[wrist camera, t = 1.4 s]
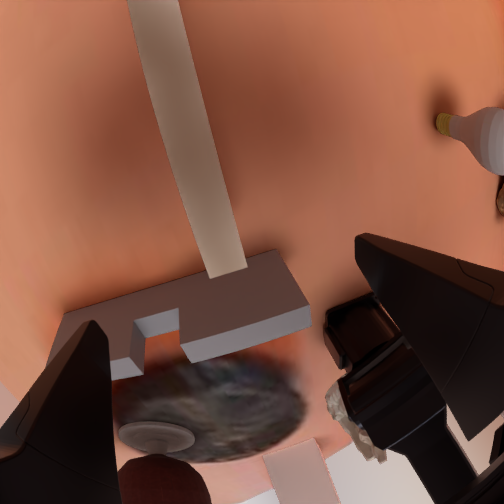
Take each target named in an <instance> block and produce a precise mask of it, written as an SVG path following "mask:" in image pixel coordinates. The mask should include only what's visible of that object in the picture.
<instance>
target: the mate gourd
mask: <svg viewBox="0 0 504 504" xmlns="http://www.w3.org/2000/svg"><path fill="white" fill-rule="evenodd" d="M119 438H120V440H121V441H122V442H123V443H125V444H126V445H128V446H131V447H133V448H136V449H139V450H143V451H148V453H149V455H148V456H144V457H139V458H134V459H130V460H128V461H127V462H126V463H125V464H124V465H123V467H122V468H121V469H120V470H119V471H118V480H119V486H120V492H121V497H122V503H123V504H212V503H211V498H210V494H209V492H208V489H207V487H206V484H205V482H204V480H203V478H202V476H201V475H200V474H199V473H198V472H197V471H196V470H195V469H194V468H193V467H192V466H191V465H190V464H188V463H186V462H184V461H180V460H177V459H174V458H170V457H167V456H166V454H167V452H175V451H180V450H183V449H186V448H188V447H190V446H191V445H193V443H194V442H195V438H194V435H193V433H192V432H191V431H190V430H188V429H186V428H184V427H181V426H179V425H175V424H170V423H164V422H151V421H145V422H133V423H129V424H126V425H124V426H122V427H121V428H120V429H119Z"/></svg>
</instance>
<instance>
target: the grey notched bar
mask: <svg viewBox="0 0 504 504" xmlns="http://www.w3.org/2000/svg"><path fill="white" fill-rule="evenodd" d="M245 259H246V263H247V266H248V267H247V268H243V269H240V270H237V271H234V272H231V273H227V274H224V275H221V276H218V277H214V278H211V279H210V278H209V275H208V272H207V270H206V271H203V272H200V273H197V274H193V275H190V276H187V277H184V278H180V279H177V280H174V281H170V282H167V283H164V284H161V285H157V286H154V287H151V288H147V289H144V290H141V291H138V292H134V293H131V294H128V295H124V296H121V297H118V298H115V299H111V300H108V301H105V302H101V303H98V304H95V305H91V306H88V307H85V308H81V309H78V310H75V311H71V312H68V313H65V314H64V315H63V318H62V321H61V323H60V326H59V328H58V331H57V334H56V337H55V340H54V342H53V345H52V348H51V351H50V354H49V357H48V361H47V364H46V367H47V366H48V364H49V363H50V362H51V360H52V359H53V358H54V357H55V355H56V354H57V353H58V352H59V350H60V349H61V348H62V347H63V346H64V344H65V343H66V342H67V341H68V339H69V338H70V337H71V336H72V335H73V334H74V332H75V331H76V330H77V329H78V328H79V326H80V325H81V324H82V323H83V322H84V321H88V320H91V319H93V320H95V321H96V322H97V323H98V324H99V326H100V327H101V328H102V330H103V331H104V332H105V334H106V335H107V337H108V340H109V352H110V366H111V378H112V380H116V379H122V378H127V377H133V376H138V375H143V374H144V353H145V338H148V337H152V336H156V335H160V334H164V333H167V332H171V331H175V330H179V334H180V345H181V347H182V349H183V350H184V352H185V353H186V355H187V357H188V358H189V360H190V361H191V363H195V362H199V361H202V360H206V359H210V358H214V357H217V356H221V355H224V354H228V353H231V352H235V351H238V350H242V349H245V348H248V347H251V346H255V345H258V344H261V343H264V342H267V341H270V340H273V339H276V338H279V337H282V336H285V335H288V334H291V333H294V332H297V331H300V330H302V329H305V328H308V327H311V326H312V322H311V312H310V304H309V303H308V301H307V299H306V298H305V296H304V294H303V292H302V291H301V289H300V287H299V286H298V284H297V282H296V281H295V279H294V277H293V276H292V274H291V272H290V271H289V269H288V267H287V266H286V264H285V262H284V261H283V259H282V257H281V256H280V254H279V253H278V251H277V249H274V250H271V251H268V252H265V253H262V254H258V255H255V256H252V257H249V258H245ZM46 367H45V368H46Z"/></svg>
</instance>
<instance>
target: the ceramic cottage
mask: <svg viewBox="0 0 504 504" xmlns="http://www.w3.org/2000/svg"><path fill="white" fill-rule="evenodd" d="M344 376H345V375H343V376H342V377H344ZM338 387H339V385H338V382H337V381H336V382H335V383H334V384H333V385H332V387H331V388H330V389H329V391H328V392H327V394H326V397H325V398H326V402H327V407H328V411H329V413H330V414H331V415H332V417H333V420H336V421H339V423H340V424H341V426H342V427H343V429H344V430H345V432H347V433H348V434H349V435H350V436H351V438H352V439H353V441H354V443H355V445H356V447H357V449H358V450H359V451H360V452H361V453H362V454H363V456H364V457H365V459H366V460H367V461H371V460H373V459H374V458H377V459H378V462H379V463H380V464H382V463H383V462H385V461H387V456H386V450H385V451H383V450H381V449H379V448H377V447H375V446H374V445H373V443H372V441H371V439H370V437H369V436H368V434H367V432H366V430H361V429H360V428H359V427H358V426H357V425H356V424H355V423H353V422H350V421H349V420H348V415H347V412H346V409H345V406H344V403H343V400H342V397H341V394H340V391H339V388H338Z"/></svg>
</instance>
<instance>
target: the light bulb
mask: <svg viewBox="0 0 504 504" xmlns="http://www.w3.org/2000/svg"><path fill="white" fill-rule="evenodd" d="M436 126H437V129H438V131H439V132H440V133H441V134H443V135H447V136H451V137H452V138H453V139H456V140H459V141H461V142H463V143H464V144H465V145H466V146H467V147H468V149H469V150H470V151H471V153H472V154H473V155H474V157H475V158H476V159H477V161H478V162H479V163H480V164H481V165H482V166H483V167H484V168H485V169H487V170H488V171H490V172H492V173H494V174H497V175H504V109H501V108H498V107H486V108H483V109H481V110H479V111H477V112H475V113H473V114H471V115H469V116H467V117H462V116H458V115H450V114H446V113H440V114H439V115H438V117H437V120H436Z"/></svg>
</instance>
